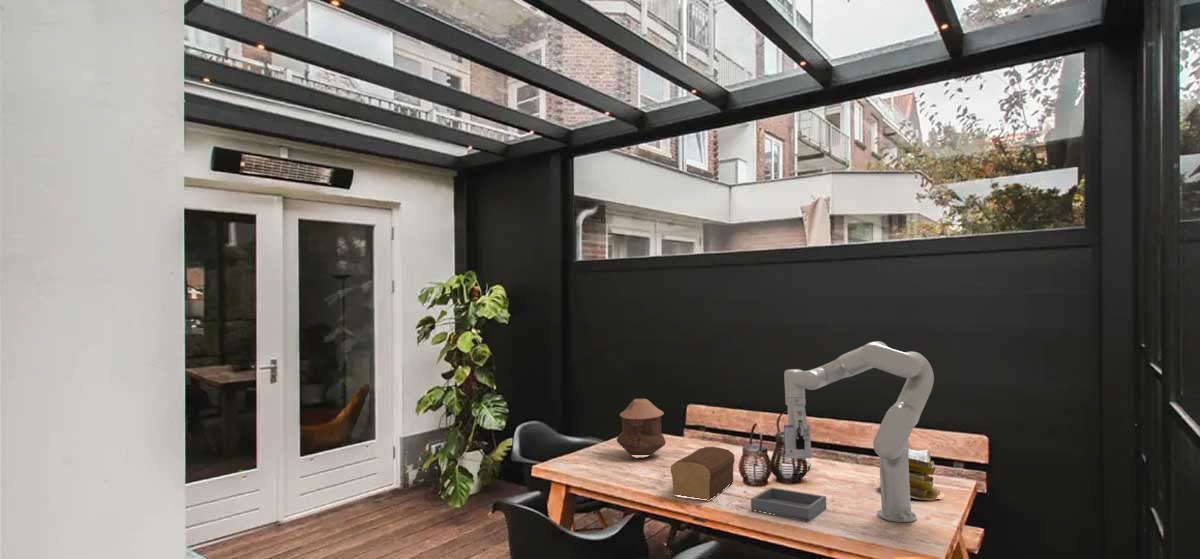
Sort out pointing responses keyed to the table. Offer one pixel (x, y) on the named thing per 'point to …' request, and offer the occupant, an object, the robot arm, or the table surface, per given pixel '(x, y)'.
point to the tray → (789, 503)
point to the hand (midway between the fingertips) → (797, 446)
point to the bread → (703, 473)
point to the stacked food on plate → (921, 475)
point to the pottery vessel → (641, 428)
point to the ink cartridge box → (791, 443)
